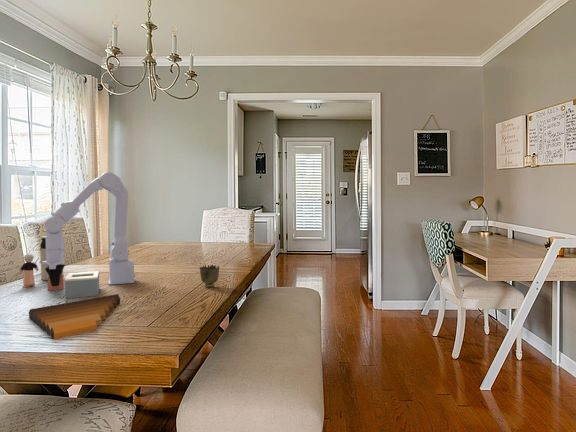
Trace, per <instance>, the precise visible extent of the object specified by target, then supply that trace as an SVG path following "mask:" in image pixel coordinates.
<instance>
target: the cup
mask: <svg viewBox="0 0 576 432" xmlns="http://www.w3.org/2000/svg"><path fill="white" fill-rule="evenodd" d="M216 266H217V265H213V264H210V265H202V266H200V267H199V274H200V280H201V282H202V283H204V287H205V288H206V287H207V288H206V289H212V288H211V287H213V288H214V287H215V283H216V282H218V279H219V274H220V266H219V265H218V266H217V267H216Z"/></svg>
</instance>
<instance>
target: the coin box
mask: <svg viewBox="0 0 576 432" xmlns="http://www.w3.org/2000/svg"><path fill="white" fill-rule="evenodd" d="M64 291H65V294H64V296H65V299H73V298H83V297H84V298H85V297H95V296H96V297H97V296H98V295H99V292H100V271H98V270H96V271H95V270H94V271H85V272H84V271H83V272H82V271H78V272H69V273H68V274H67V275H66V277H64Z"/></svg>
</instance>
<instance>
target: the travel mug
mask: <svg viewBox="0 0 576 432" xmlns="http://www.w3.org/2000/svg"><path fill="white" fill-rule="evenodd" d="M40 239H41V243H40V244H39V245H40V246H39V247H40V270H41V271H40V274H41V280H42V281H47V277H48V276H49V275H48V273H47V272H46V270H45V268H46V267H48V266H49V265H48V264H46V263H45V264H43V261H46V235H42V236H40ZM61 264H64V263H61ZM59 265H60V264H59ZM62 275H64V270H63V271H62Z"/></svg>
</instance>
